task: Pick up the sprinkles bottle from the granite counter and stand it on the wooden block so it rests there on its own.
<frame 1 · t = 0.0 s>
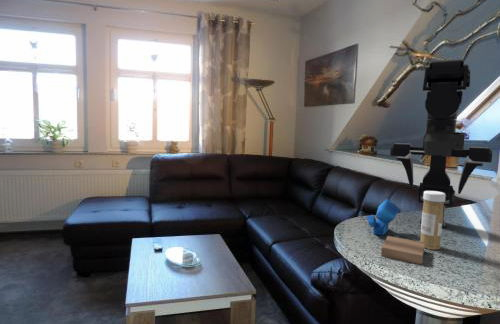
hand: (434, 190, 73), 15 cm above the breakfast bar, tool pointing down, fingers open, 9 cm apart
wooden block: (403, 253, 75), on the breakfast bar
sprinkles bottle: (429, 247, 79), on the breakfast bar
blue figurine: (381, 232, 89), on the breakfast bar
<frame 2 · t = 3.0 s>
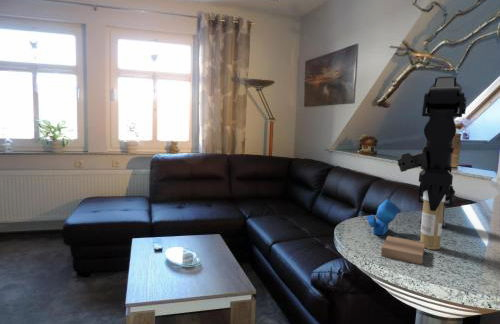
hand: (433, 208, 78), 10 cm above the breakfast bar, tool pointing down, fingers closed on sprinkles bottle, 4 cm apart
sprinkles bottle: (429, 247, 79), on the breakfast bar, touching gripper
everything else where it was.
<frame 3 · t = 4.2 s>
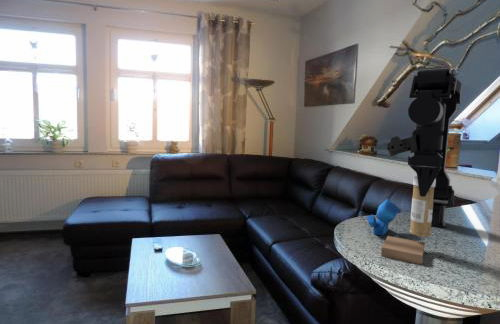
hand: (423, 194, 75), 13 cm above the breakfast bar, tool pointing down, fingers closed on sprinkles bottle, 4 cm apart
sprinkles bottle: (419, 234, 77), point 4 cm above the breakfast bar, touching gripper
everything else where it was.
when the fingers open (12 cm above the breakfast bar, at t = 5.3 s): sprinkles bottle stays where it is, resting on wooden block.
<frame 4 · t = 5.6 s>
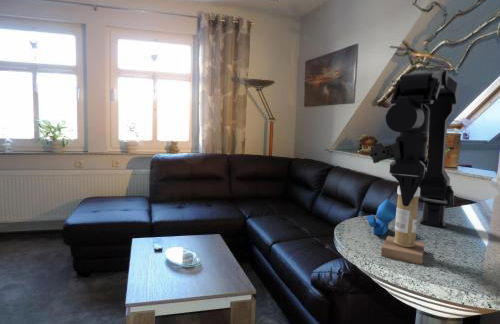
hand: (407, 202, 73), 12 cm above the breakfast bar, tool pointing down, fingers open, 7 cm apart
sprinkles bottle: (404, 245, 75), point 2 cm above the breakfast bar, touching wooden block
everything else where it was.
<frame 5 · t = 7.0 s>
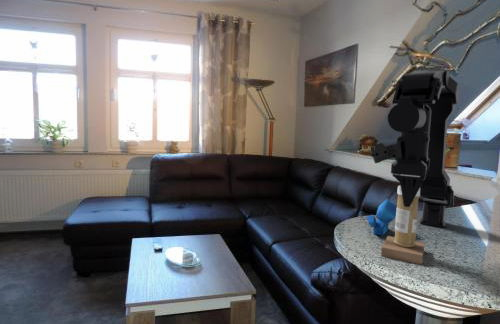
hand: (408, 202, 73), 12 cm above the breakfast bar, tool pointing down, fingers open, 9 cm apart
nothing on the breakfast bar moved.
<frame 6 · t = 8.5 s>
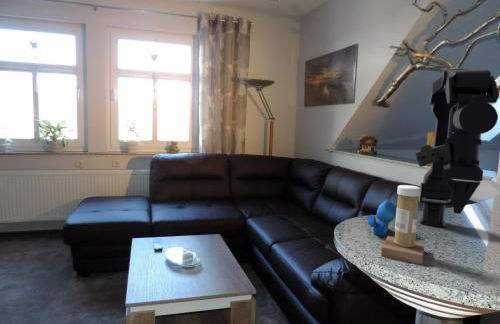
hand: (456, 208, 68), 12 cm above the breakfast bar, tool pointing down, fingers open, 9 cm apart
nothing on the breakfast bar moved.
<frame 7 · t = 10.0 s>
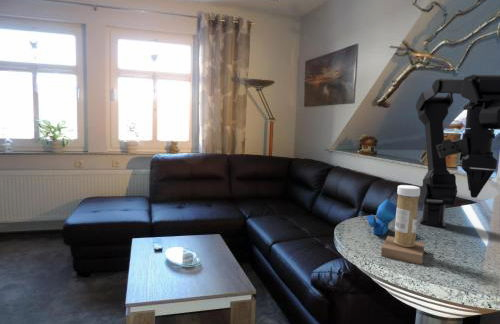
hand: (472, 193, 79), 13 cm above the breakfast bar, tool pointing down, fingers open, 9 cm apart
nothing on the breakfast bar moved.
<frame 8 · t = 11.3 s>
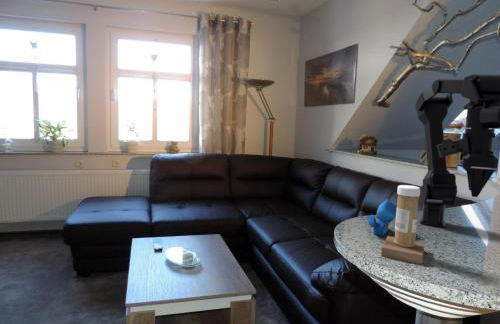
hand: (472, 193, 79), 13 cm above the breakfast bar, tool pointing down, fingers open, 9 cm apart
nothing on the breakfast bar moved.
at the end: sprinkles bottle 0.4 cm from the wooden block (horizontally); sprinkles bottle tilted 0°; sprinkles bottle touching wooden block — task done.
